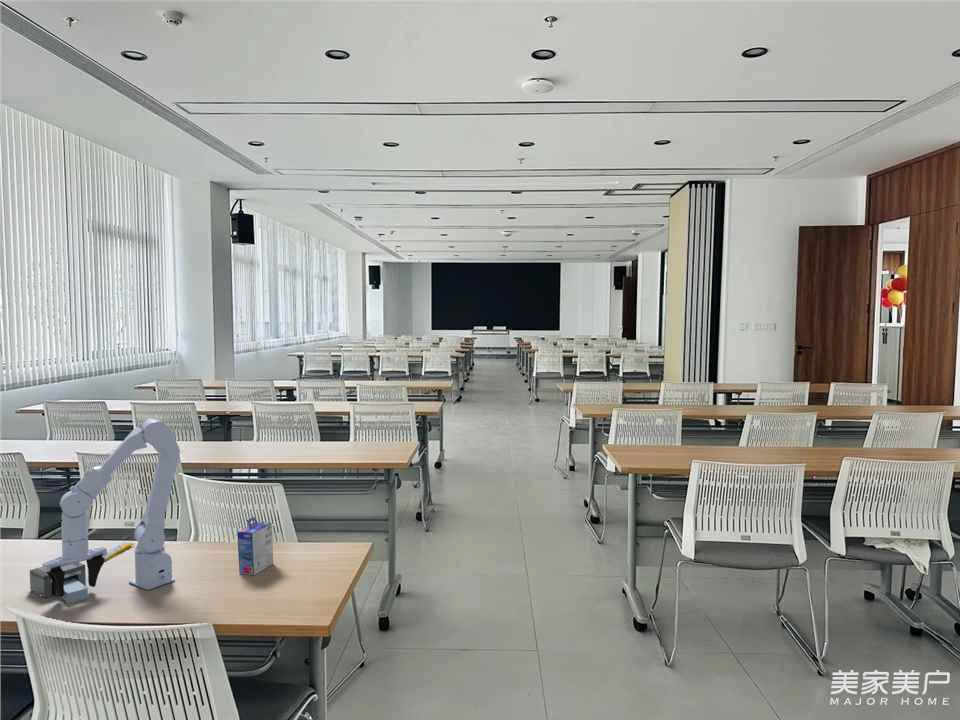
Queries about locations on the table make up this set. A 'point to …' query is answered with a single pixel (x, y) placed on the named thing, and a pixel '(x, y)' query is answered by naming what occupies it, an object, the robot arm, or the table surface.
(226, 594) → the table surface
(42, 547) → the table surface
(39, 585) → the gray block
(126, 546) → the candy bar
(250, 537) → the ink cartridge box
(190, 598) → the table surface
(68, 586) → the pale blue rectangular block
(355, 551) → the table surface
